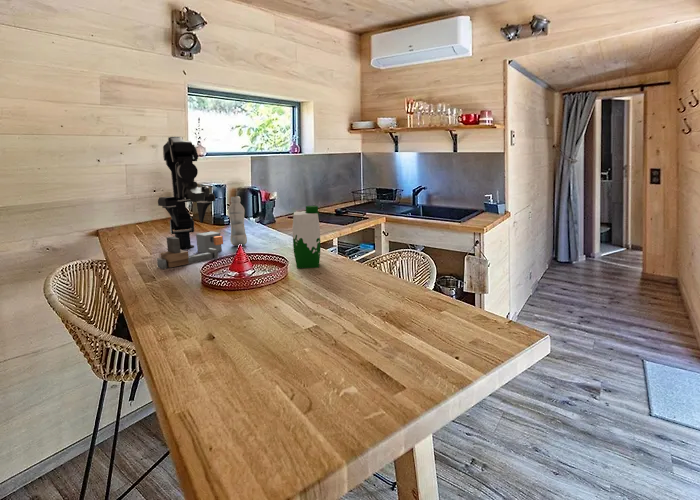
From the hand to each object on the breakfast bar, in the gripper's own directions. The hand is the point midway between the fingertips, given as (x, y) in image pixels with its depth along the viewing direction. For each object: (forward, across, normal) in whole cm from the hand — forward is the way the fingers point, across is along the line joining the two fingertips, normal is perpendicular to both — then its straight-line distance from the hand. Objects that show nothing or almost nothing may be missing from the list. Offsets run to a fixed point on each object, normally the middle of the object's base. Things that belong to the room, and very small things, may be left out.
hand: (189, 224), depth 163 cm
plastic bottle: (+14, +27, +10) cm, 32 cm away
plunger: (+10, +14, +8) cm, 19 cm away
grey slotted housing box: (+14, +14, +12) cm, 23 cm away
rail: (+14, -1, +1) cm, 14 cm away
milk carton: (+14, +21, -36) cm, 44 cm away
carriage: (+14, -6, +1) cm, 15 cm away
